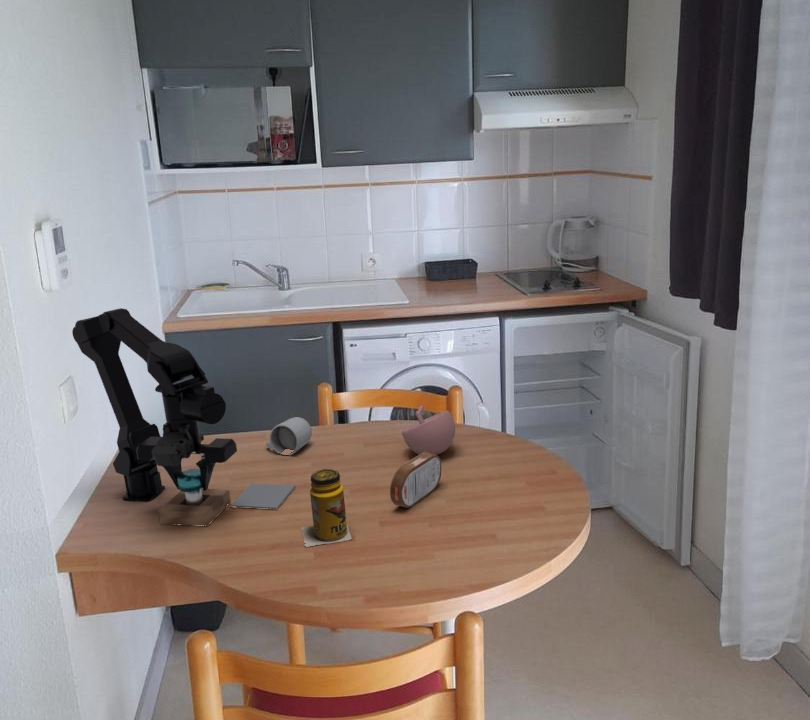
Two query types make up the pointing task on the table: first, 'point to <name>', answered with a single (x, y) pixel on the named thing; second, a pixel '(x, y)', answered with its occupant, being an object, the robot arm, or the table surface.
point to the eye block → (194, 508)
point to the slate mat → (263, 496)
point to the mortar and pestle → (430, 433)
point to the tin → (415, 479)
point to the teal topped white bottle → (191, 486)
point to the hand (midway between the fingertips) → (192, 489)
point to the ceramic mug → (290, 435)
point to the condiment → (326, 510)
